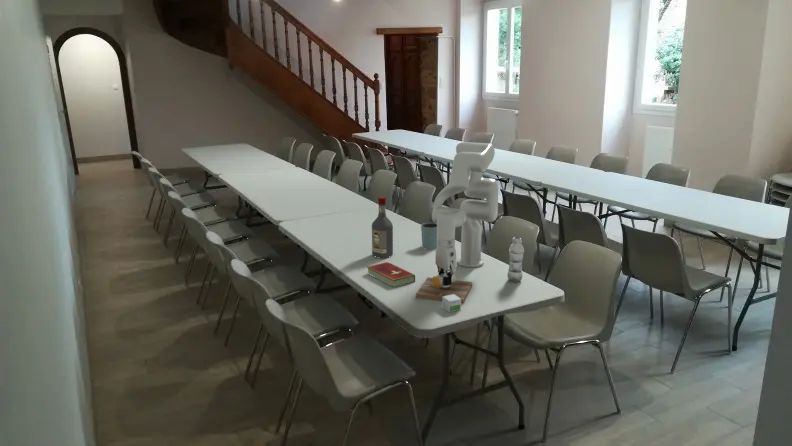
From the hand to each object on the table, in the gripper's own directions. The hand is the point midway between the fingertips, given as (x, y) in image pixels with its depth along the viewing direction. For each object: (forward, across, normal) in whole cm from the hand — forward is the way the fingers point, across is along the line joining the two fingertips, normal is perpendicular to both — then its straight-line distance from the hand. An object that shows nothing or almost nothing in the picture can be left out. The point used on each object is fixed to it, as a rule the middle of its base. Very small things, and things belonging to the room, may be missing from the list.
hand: (444, 282), depth 248 cm
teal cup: (+4, +57, -26) cm, 63 cm away
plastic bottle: (+4, -3, -35) cm, 35 cm away
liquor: (+4, +56, +2) cm, 56 cm away
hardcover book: (+5, +26, +13) cm, 29 cm away
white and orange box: (+2, 0, 0) cm, 2 cm away
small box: (+5, -16, +6) cm, 17 cm away
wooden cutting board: (+4, 0, 0) cm, 4 cm away
